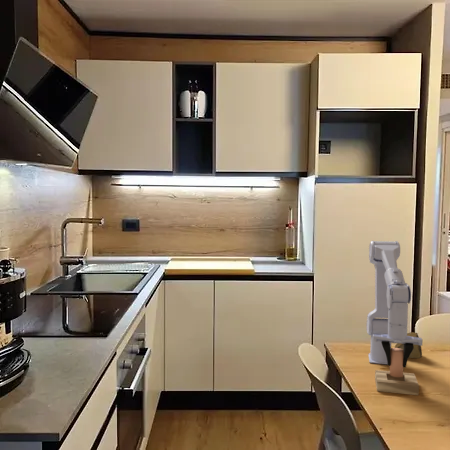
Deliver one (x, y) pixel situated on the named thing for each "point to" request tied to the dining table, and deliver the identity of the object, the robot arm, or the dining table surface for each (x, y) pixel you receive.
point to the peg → (396, 362)
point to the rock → (417, 349)
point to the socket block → (396, 383)
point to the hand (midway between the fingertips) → (396, 365)
